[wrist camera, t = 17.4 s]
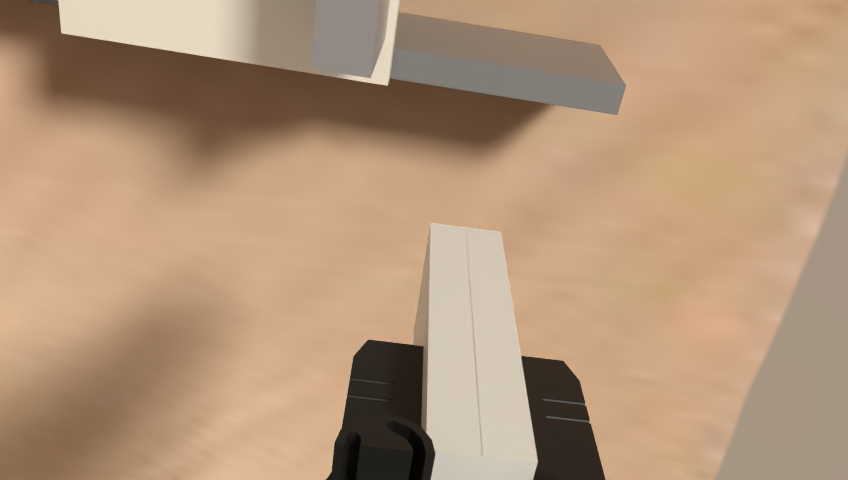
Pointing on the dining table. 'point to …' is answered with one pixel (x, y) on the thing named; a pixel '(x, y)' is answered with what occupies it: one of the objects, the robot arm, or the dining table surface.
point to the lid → (252, 31)
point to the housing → (503, 63)
